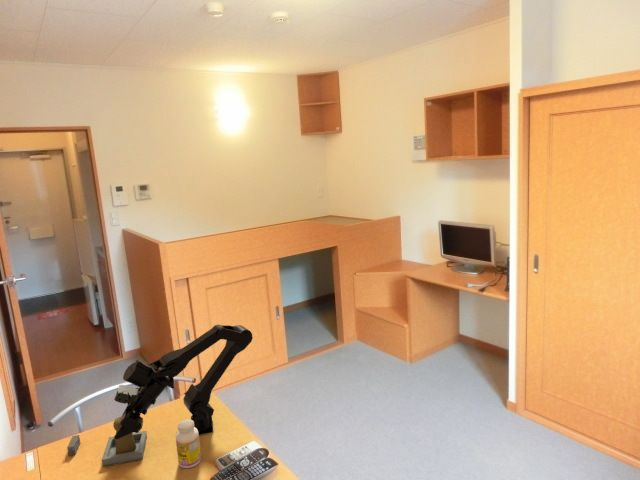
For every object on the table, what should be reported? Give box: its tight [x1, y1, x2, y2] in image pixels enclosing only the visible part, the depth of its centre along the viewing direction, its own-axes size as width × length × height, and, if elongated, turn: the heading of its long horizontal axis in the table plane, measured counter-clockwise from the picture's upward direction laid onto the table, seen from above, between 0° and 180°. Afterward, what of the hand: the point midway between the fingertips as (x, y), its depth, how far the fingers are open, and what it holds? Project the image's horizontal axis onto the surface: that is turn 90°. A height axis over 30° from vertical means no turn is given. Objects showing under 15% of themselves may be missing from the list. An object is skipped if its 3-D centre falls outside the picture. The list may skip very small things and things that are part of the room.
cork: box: [113, 415, 136, 454], centre depth 140 cm, size 6×6×11 cm
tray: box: [101, 430, 148, 468], centre depth 141 cm, size 11×11×2 cm
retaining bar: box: [66, 434, 81, 457], centre depth 143 cm, size 2×6×3 cm, turn 14°
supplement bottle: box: [175, 418, 202, 469], centre depth 134 cm, size 7×7×13 cm
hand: (117, 429), depth 139 cm, fingers open, 9 cm apart
